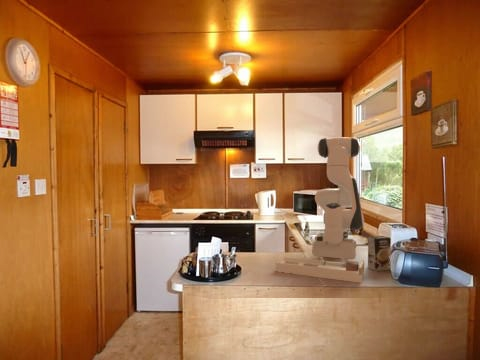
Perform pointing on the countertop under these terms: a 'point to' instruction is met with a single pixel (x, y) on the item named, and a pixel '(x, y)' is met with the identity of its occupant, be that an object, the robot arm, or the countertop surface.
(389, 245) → the coffee box
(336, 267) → the trap track
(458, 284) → the countertop surface
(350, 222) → the robot arm
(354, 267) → the walnut block
